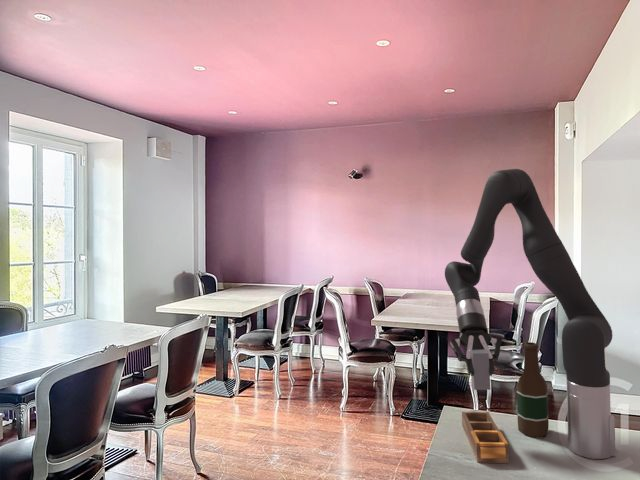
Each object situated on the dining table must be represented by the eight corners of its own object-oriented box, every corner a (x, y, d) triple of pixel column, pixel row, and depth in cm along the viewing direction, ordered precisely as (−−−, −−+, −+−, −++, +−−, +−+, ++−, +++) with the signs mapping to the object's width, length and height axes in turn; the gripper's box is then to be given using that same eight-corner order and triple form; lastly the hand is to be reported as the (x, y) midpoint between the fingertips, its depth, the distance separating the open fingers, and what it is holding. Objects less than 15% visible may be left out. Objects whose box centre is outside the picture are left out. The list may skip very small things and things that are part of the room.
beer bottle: (553, 439, 120) (550, 347, 119) (521, 437, 122) (518, 347, 121) (544, 426, 128) (542, 339, 127) (514, 424, 129) (512, 339, 128)
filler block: (487, 384, 124) (485, 349, 123) (490, 389, 120) (488, 353, 119) (471, 384, 124) (469, 349, 124) (474, 389, 120) (472, 353, 120)
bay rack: (488, 426, 129) (488, 410, 129) (509, 464, 109) (508, 445, 108) (462, 425, 130) (461, 409, 130) (477, 463, 109) (477, 444, 109)
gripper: (446, 311, 130) (454, 367, 118) (498, 310, 128) (512, 367, 116) (444, 326, 135) (452, 381, 123) (495, 325, 133) (508, 381, 121)
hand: (481, 374), depth 120 cm, fingers closed on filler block, 4 cm apart
